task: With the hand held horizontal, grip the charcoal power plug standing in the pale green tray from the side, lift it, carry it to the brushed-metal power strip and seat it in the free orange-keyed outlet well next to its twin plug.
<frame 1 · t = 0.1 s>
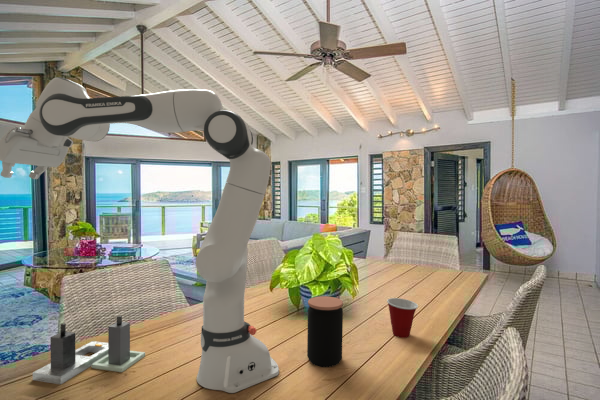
hand: (19, 177, 95), 54 cm above the table, tool tilted 30°, fingers open, 8 cm apart
plastic cup: (401, 335, 126), on the table
pdu strip: (78, 365, 102), on the table
plug: (119, 361, 103), resting on tray
tray: (119, 363, 103), on the table
coffee jar: (324, 360, 107), on the table
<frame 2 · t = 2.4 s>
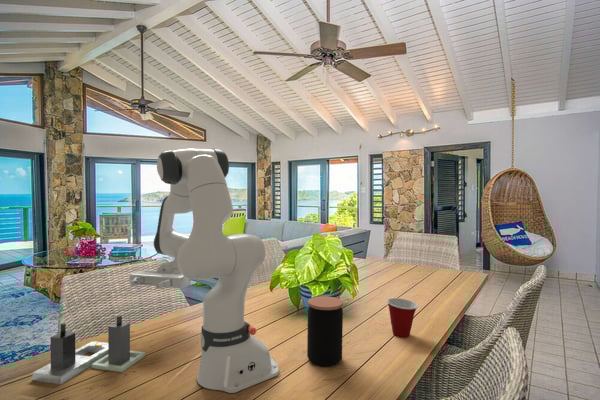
hand: (145, 284, 114), 20 cm above the table, tool horizontal, fingers open, 8 cm apart
nothing on the table moved.
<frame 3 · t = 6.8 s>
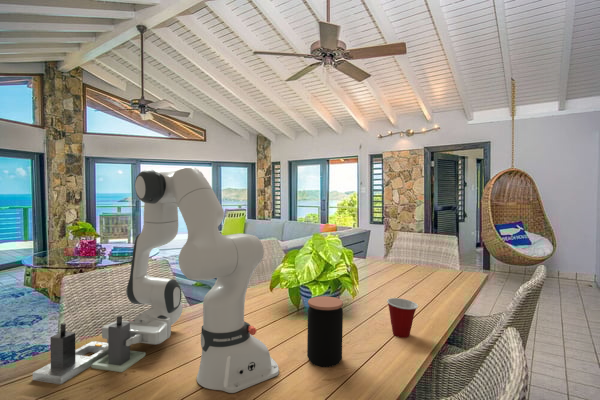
hand: (117, 342, 102), 7 cm above the table, tool horizontal, fingers closed on plug, 4 cm apart
plug: (119, 361, 103), point 1 cm above the table, touching gripper, tray
everything else where it was.
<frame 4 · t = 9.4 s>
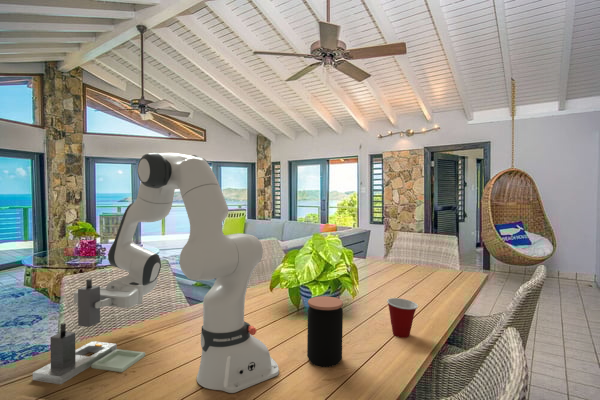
hand: (86, 305, 104), 17 cm above the table, tool horizontal, fingers closed on plug, 4 cm apart
plug: (89, 323, 105), point 11 cm above the table, touching gripper
everything else where it was.
when the fingers open (7 cm above the table, at t = 11.9 s): plug stays where it is, resting in pdu strip.
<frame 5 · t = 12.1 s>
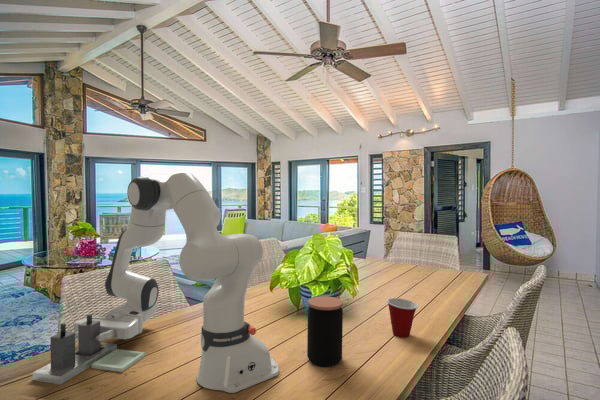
hand: (86, 337, 104), 7 cm above the table, tool horizontal, fingers open, 6 cm apart
plug: (89, 359, 106), resting in pdu strip
everything else where it was.
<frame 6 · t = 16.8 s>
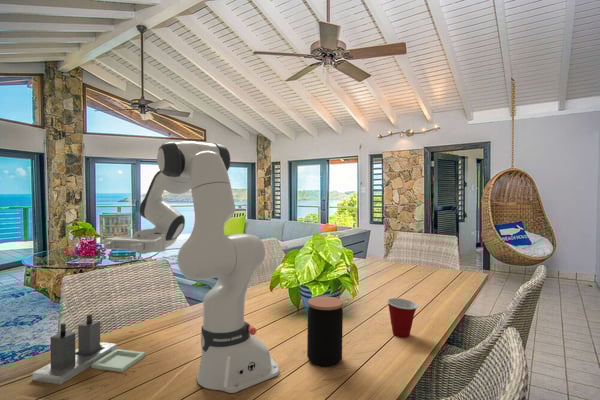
hand: (117, 247, 117), 32 cm above the table, tool horizontal, fingers open, 8 cm apart
nothing on the table moved.
at the end: plug 0.1 cm from the target spot on the pdu strip, point 0.0 cm above the pdu strip's base; plug tilted 0°; the gripper is holding nothing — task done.
